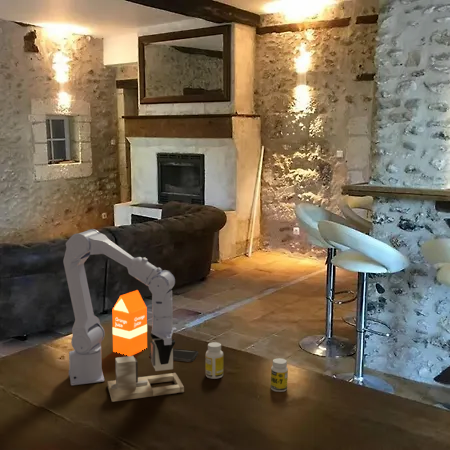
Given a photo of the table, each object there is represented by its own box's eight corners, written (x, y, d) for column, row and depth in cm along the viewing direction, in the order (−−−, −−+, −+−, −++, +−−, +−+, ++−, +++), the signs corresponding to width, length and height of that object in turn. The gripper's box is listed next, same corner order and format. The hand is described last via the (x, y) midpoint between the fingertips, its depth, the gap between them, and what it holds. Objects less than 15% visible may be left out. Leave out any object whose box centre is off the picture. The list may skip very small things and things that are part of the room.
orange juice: (147, 348, 186) (147, 291, 183) (130, 356, 178) (129, 297, 175) (130, 343, 190) (129, 287, 187) (112, 351, 182) (111, 293, 179)
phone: (156, 346, 185) (198, 350, 182) (156, 350, 185) (198, 354, 182) (148, 355, 177) (192, 359, 174) (148, 358, 178) (192, 363, 174)
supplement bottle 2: (267, 390, 155) (268, 361, 154) (274, 383, 159) (275, 356, 158) (283, 393, 153) (284, 365, 152) (289, 387, 157) (290, 359, 156)
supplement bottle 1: (224, 372, 167) (224, 341, 165) (222, 379, 162) (222, 348, 160) (206, 371, 167) (206, 340, 166) (204, 378, 162) (204, 347, 161)
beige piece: (112, 401, 147) (111, 368, 146) (107, 386, 156) (106, 354, 155) (183, 391, 153) (183, 359, 152) (175, 377, 163) (175, 347, 161)
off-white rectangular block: (153, 371, 153) (153, 344, 152) (150, 365, 156) (150, 339, 155) (173, 369, 154) (172, 342, 153) (169, 363, 158) (169, 337, 157)
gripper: (182, 321, 148) (182, 368, 150) (170, 306, 161) (170, 349, 163) (156, 323, 145) (157, 371, 147) (146, 308, 159) (147, 352, 161)
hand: (162, 360), depth 155 cm, fingers closed on off-white rectangular block, 4 cm apart
